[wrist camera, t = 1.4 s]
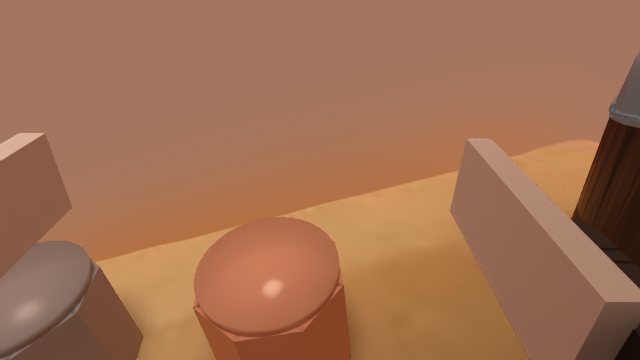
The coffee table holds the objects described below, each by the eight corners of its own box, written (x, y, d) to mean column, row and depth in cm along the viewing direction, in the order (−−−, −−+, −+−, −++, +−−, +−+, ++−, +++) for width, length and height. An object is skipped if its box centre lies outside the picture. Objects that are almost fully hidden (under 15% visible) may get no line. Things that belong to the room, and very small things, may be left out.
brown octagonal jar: (151, 308, 37) (108, 232, 31) (116, 421, 28) (50, 346, 23) (45, 324, 36) (-18, 250, 30) (-21, 443, 28) (-124, 373, 22)
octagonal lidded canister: (337, 289, 36) (329, 209, 31) (356, 398, 28) (350, 316, 22) (232, 305, 36) (204, 227, 30) (221, 419, 28) (180, 341, 22)
